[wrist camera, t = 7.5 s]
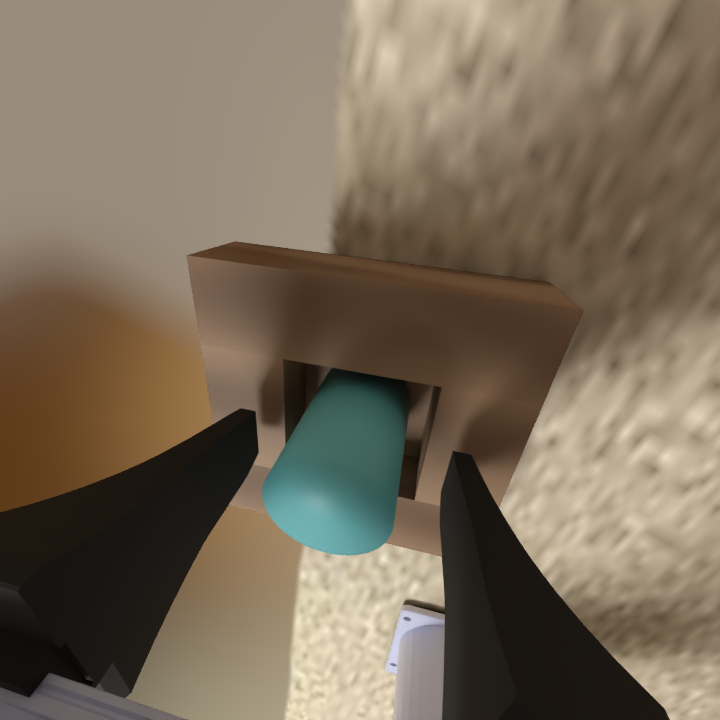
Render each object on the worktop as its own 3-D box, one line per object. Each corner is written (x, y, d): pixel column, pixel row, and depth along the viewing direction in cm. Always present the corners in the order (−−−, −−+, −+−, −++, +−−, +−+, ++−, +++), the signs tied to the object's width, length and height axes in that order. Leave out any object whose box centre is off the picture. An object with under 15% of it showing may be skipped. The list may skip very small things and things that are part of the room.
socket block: (468, 508, 18) (474, 564, 15) (254, 460, 19) (225, 504, 17) (550, 282, 12) (583, 310, 9) (234, 241, 13) (186, 255, 11)
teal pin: (402, 440, 16) (384, 568, 10) (321, 423, 16) (265, 536, 11) (417, 367, 14) (404, 478, 9) (324, 350, 14) (258, 445, 9)
